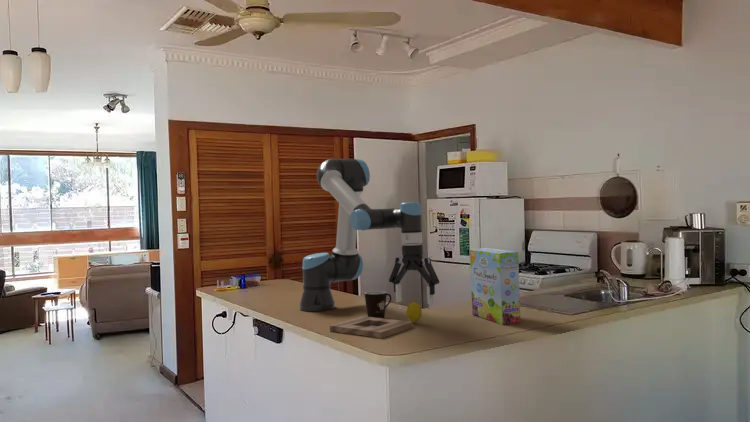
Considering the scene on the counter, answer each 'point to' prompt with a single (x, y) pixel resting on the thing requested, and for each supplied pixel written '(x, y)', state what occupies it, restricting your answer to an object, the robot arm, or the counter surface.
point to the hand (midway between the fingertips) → (414, 302)
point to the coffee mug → (376, 303)
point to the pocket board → (371, 326)
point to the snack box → (495, 285)
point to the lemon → (414, 312)
